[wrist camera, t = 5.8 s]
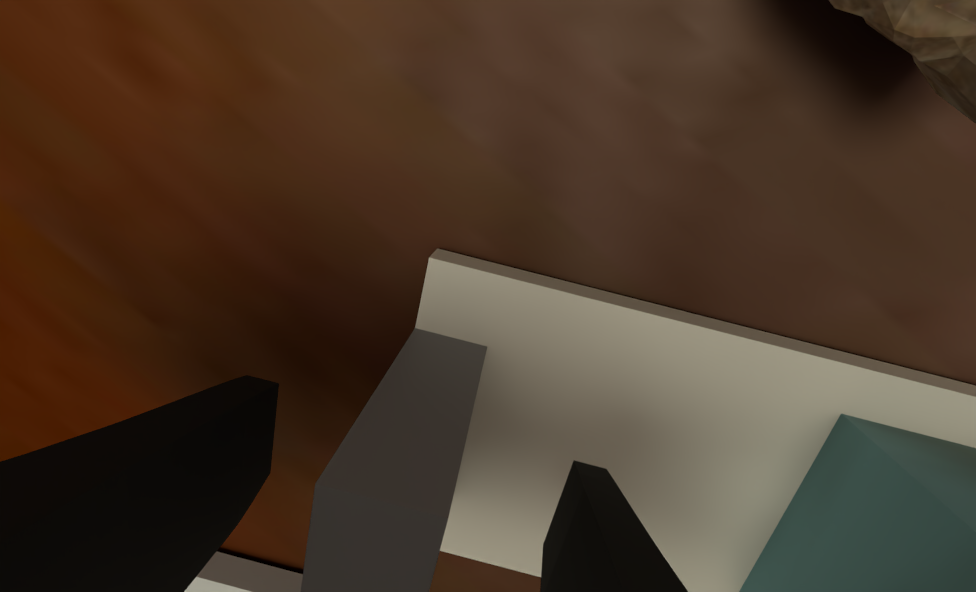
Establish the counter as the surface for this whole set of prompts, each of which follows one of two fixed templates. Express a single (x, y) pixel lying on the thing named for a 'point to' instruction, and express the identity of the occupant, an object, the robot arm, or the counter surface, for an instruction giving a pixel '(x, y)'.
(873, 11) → the seashell
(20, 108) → the counter surface
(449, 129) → the counter surface
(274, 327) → the counter surface
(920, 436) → the teal block
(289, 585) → the cream and grey bookend
